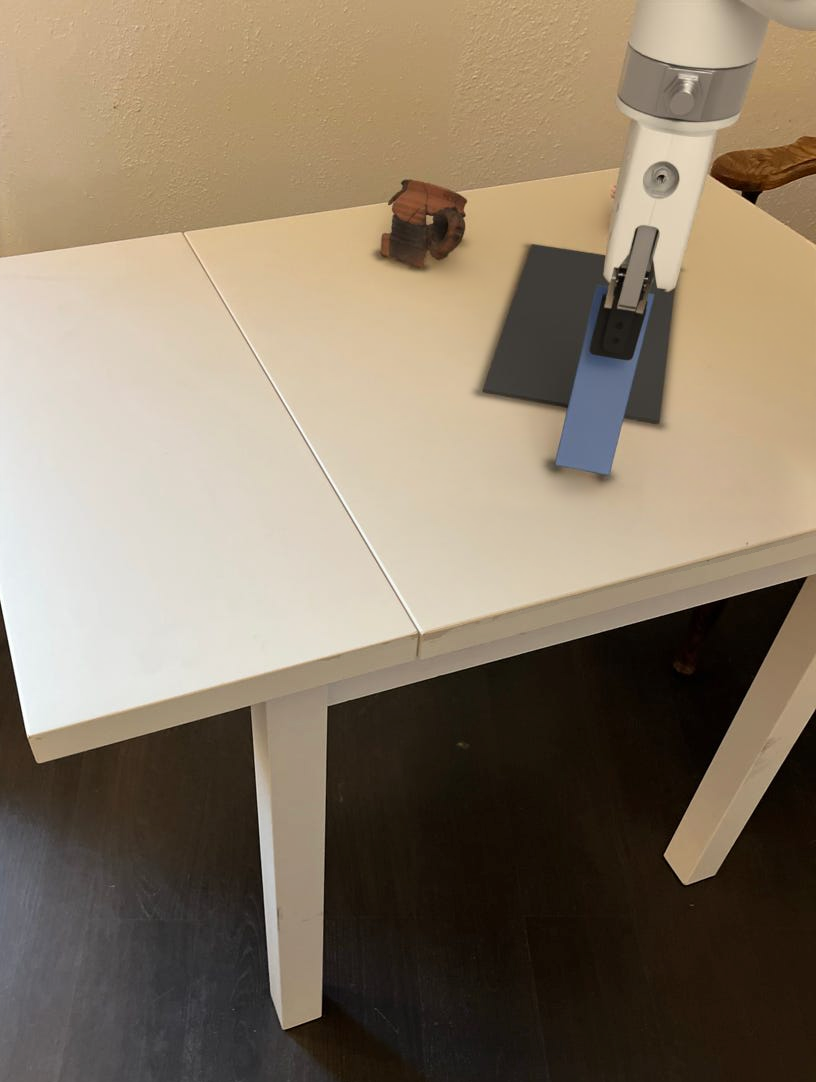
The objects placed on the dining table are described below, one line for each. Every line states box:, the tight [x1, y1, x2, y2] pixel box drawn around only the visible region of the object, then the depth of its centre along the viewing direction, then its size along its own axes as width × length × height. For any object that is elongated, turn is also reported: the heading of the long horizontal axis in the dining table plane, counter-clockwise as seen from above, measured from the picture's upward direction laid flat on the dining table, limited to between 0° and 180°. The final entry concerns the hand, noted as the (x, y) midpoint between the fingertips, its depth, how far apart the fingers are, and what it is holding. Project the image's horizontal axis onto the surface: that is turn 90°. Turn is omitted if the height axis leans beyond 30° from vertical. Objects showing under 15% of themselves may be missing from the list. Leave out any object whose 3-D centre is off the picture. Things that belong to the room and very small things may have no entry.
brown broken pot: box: [380, 179, 468, 269], centre depth 104 cm, size 12×10×8 cm
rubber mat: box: [482, 243, 675, 425], centre depth 96 cm, size 16×30×1 cm, turn 164°
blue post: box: [554, 285, 654, 476], centre depth 77 cm, size 4×4×14 cm
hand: (611, 351), depth 71 cm, fingers closed
